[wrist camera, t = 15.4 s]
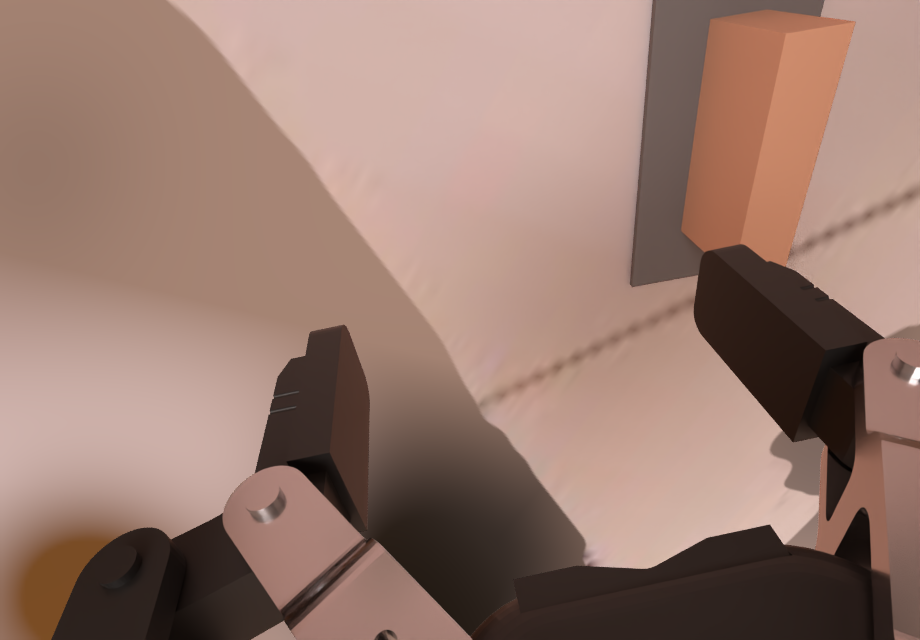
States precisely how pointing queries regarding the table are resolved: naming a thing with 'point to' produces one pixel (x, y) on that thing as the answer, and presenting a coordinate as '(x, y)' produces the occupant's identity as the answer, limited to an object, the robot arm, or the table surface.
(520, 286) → the table surface
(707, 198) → the terracotta block
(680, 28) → the rubber mat
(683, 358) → the table surface
